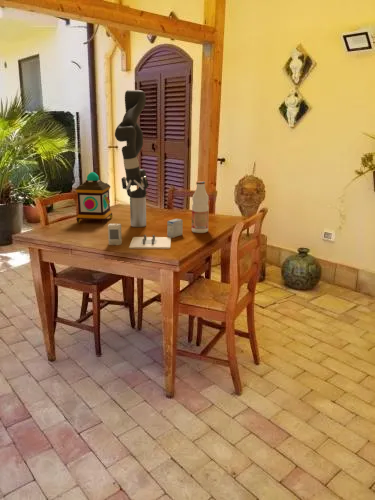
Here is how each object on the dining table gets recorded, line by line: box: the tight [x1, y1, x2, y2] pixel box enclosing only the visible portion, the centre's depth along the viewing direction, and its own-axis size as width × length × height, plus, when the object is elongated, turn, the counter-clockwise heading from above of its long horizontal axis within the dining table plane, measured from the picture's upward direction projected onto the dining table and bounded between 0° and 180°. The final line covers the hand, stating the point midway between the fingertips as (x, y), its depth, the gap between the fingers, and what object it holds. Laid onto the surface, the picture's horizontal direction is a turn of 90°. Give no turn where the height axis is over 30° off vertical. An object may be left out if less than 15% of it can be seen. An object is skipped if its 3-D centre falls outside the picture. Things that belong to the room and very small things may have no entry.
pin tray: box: [128, 234, 172, 250], centre depth 208 cm, size 18×20×3 cm
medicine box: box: [166, 218, 184, 239], centre depth 222 cm, size 8×4×9 cm, turn 141°
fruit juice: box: [191, 180, 210, 234], centre depth 229 cm, size 9×9×28 cm
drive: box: [107, 223, 123, 246], centre depth 206 cm, size 4×6×10 cm
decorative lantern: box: [74, 171, 113, 225], centre depth 250 cm, size 20×20×30 cm
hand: (137, 196), depth 218 cm, fingers open, 8 cm apart
